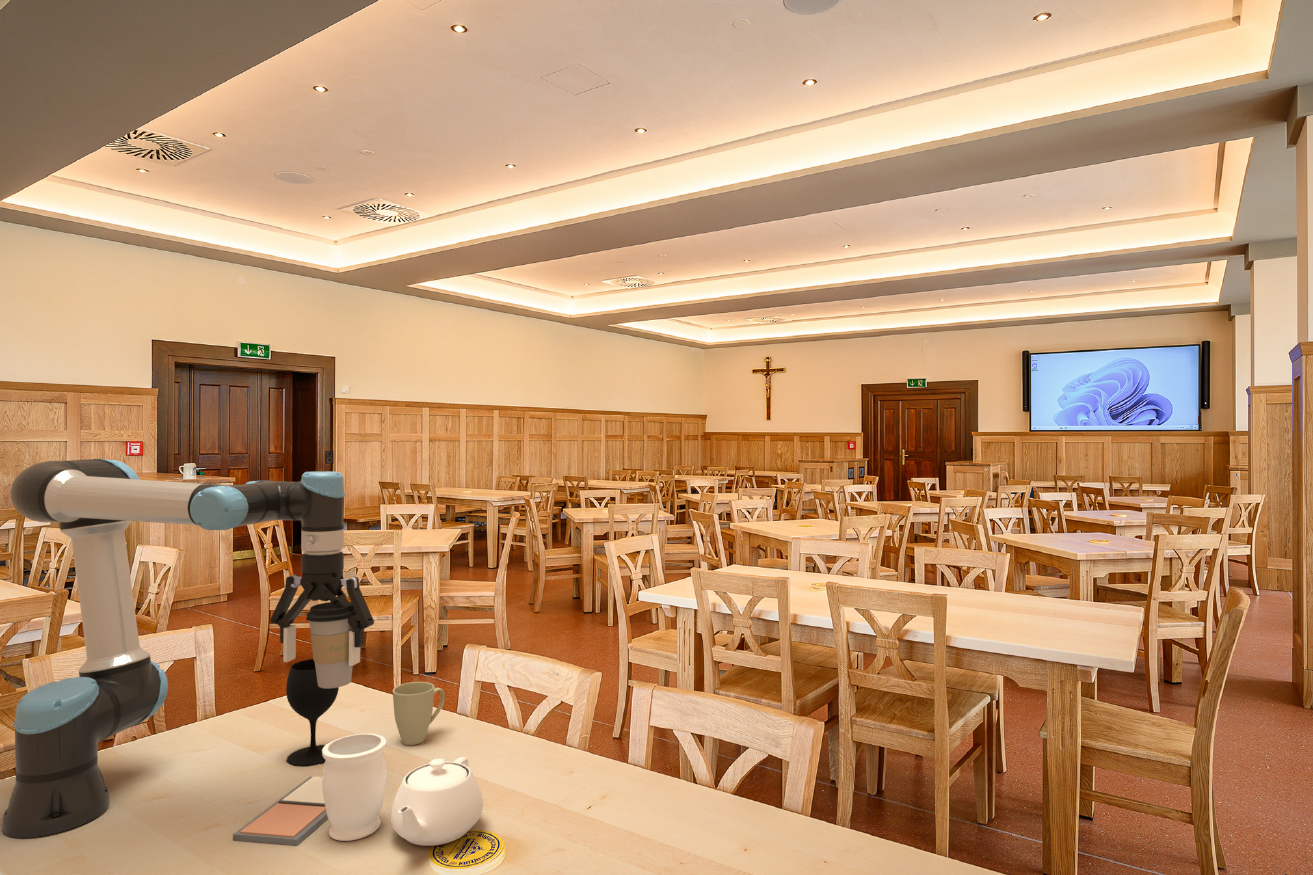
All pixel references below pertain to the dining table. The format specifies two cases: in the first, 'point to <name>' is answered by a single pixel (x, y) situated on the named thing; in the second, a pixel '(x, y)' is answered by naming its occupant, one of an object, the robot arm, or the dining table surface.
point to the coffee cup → (331, 643)
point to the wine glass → (308, 708)
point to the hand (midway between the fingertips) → (321, 662)
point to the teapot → (437, 803)
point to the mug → (415, 710)
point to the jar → (354, 784)
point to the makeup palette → (288, 817)
